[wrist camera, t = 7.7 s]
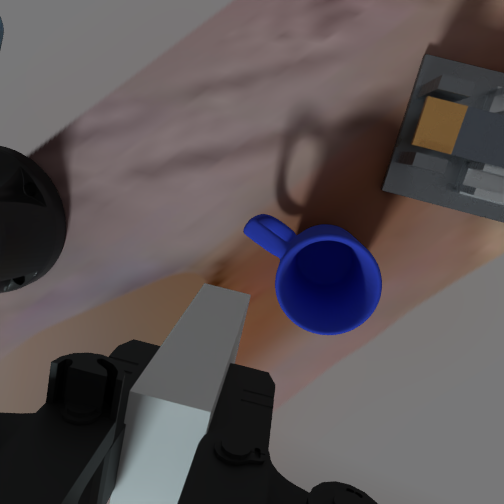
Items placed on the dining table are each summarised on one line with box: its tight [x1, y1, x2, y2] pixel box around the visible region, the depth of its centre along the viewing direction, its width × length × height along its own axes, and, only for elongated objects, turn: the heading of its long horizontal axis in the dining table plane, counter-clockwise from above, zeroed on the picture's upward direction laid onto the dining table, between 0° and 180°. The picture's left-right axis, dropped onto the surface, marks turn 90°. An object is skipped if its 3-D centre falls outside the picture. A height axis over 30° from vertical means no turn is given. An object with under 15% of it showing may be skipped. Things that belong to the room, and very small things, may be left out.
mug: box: [244, 214, 382, 335], centre depth 41 cm, size 8×12×10 cm
